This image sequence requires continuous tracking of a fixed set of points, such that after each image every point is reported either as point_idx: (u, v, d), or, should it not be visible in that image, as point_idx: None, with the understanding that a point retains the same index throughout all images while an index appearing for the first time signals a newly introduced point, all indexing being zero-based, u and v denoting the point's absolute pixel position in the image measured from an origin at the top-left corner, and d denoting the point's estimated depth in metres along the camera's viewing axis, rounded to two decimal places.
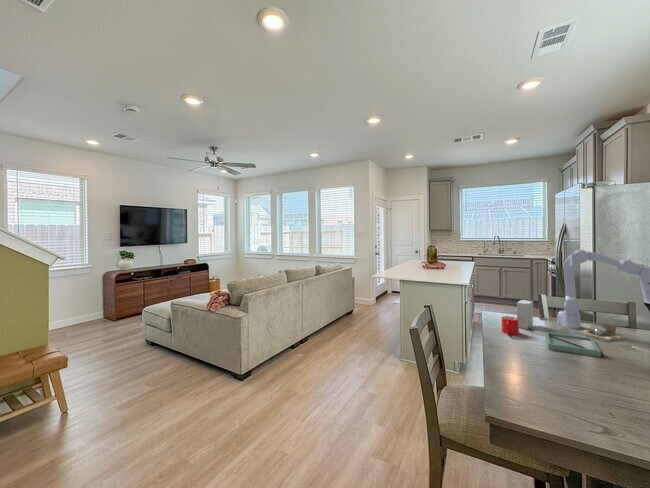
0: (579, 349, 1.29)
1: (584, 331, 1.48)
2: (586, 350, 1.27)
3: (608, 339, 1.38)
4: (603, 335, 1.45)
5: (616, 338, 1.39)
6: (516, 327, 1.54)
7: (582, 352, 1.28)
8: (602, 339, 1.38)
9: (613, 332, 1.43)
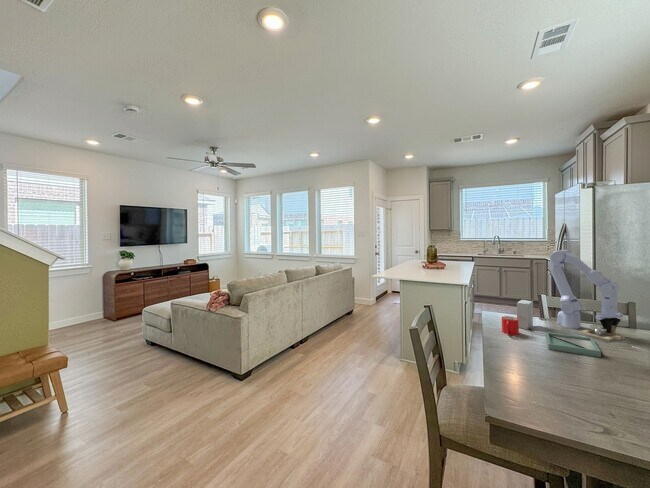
0: (579, 349, 1.29)
1: (584, 331, 1.48)
2: (586, 350, 1.27)
3: (608, 339, 1.38)
4: (603, 335, 1.45)
5: (616, 338, 1.39)
6: (516, 327, 1.54)
7: (582, 352, 1.28)
8: (602, 339, 1.38)
9: (613, 332, 1.43)
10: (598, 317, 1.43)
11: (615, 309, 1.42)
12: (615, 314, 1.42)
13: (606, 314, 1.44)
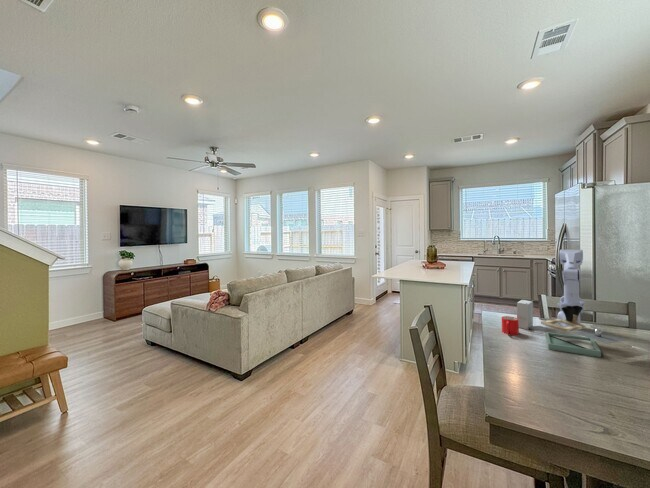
0: (579, 349, 1.29)
1: (546, 322, 1.44)
2: (586, 350, 1.27)
3: (568, 329, 1.34)
4: (603, 335, 1.45)
5: (577, 328, 1.35)
6: (516, 327, 1.54)
7: (582, 352, 1.28)
8: (562, 329, 1.35)
9: (575, 322, 1.40)
10: (560, 305, 1.40)
11: (577, 297, 1.38)
12: (577, 302, 1.39)
13: (568, 302, 1.40)
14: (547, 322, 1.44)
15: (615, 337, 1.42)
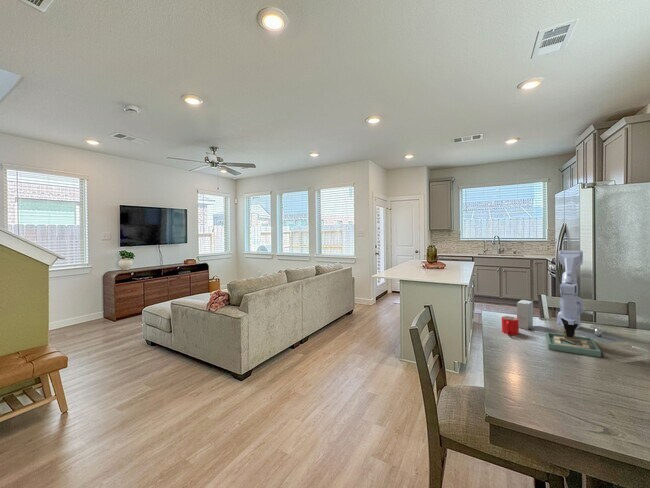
0: (579, 349, 1.29)
1: (560, 343, 1.36)
2: (586, 350, 1.27)
3: None
4: (603, 335, 1.45)
5: (587, 344, 1.35)
6: (516, 327, 1.54)
7: (582, 352, 1.28)
8: None
9: (574, 337, 1.41)
10: (572, 322, 1.35)
11: (576, 311, 1.40)
12: (576, 316, 1.40)
13: (571, 317, 1.39)
14: (561, 343, 1.36)
15: (615, 337, 1.42)
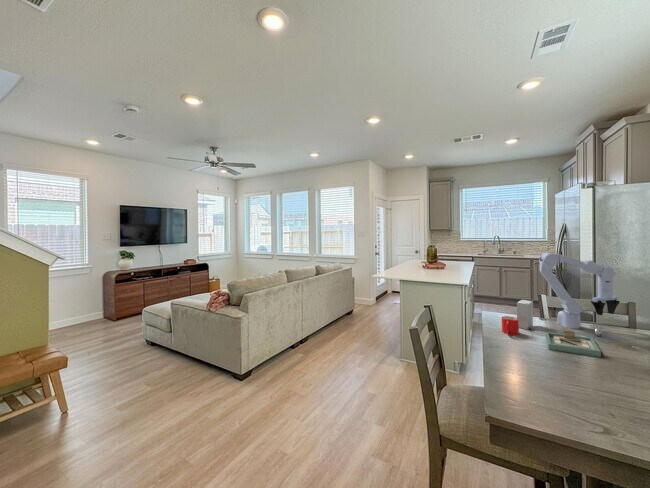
0: (579, 349, 1.29)
1: (560, 343, 1.36)
2: (586, 350, 1.27)
3: None
4: (603, 335, 1.45)
5: (587, 344, 1.35)
6: (516, 327, 1.54)
7: (582, 352, 1.28)
8: None
9: (574, 337, 1.41)
10: (594, 299, 1.51)
11: (611, 292, 1.50)
12: (611, 296, 1.50)
13: (602, 297, 1.52)
14: (561, 343, 1.36)
15: (615, 337, 1.42)
